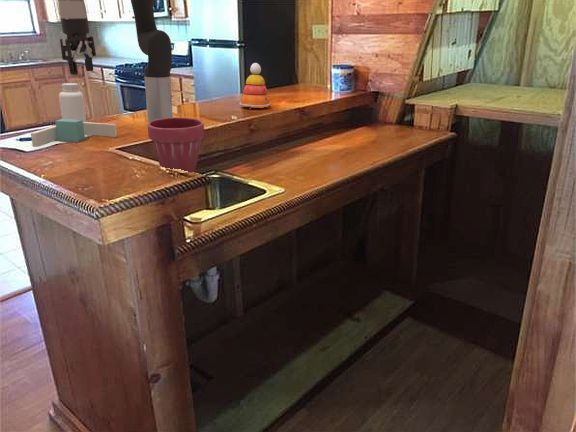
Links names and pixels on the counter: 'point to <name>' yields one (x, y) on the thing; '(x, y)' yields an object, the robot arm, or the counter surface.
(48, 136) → the beige l-shaped wall
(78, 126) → the teal block
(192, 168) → the plant pot
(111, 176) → the counter surface
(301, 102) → the counter surface
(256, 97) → the stacking toy
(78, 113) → the pill bottle
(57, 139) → the pad
